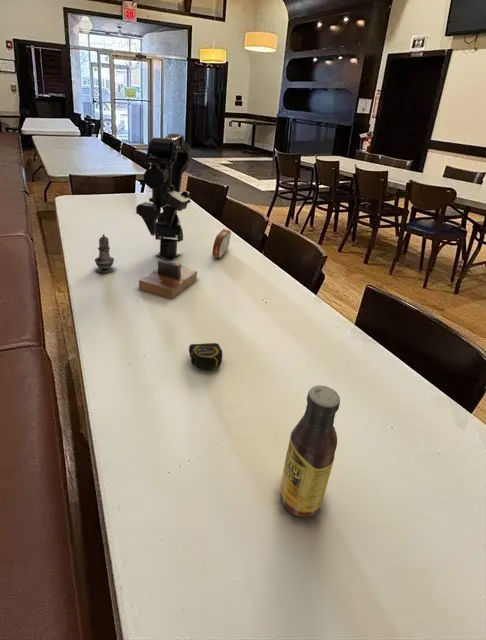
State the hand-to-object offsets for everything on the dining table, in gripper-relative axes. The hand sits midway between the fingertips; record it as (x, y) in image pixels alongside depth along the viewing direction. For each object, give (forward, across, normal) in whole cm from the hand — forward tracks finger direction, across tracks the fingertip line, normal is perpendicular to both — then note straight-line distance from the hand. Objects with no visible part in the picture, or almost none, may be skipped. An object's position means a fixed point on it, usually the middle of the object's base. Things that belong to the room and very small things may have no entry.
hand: (160, 231), depth 128 cm
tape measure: (+13, -37, -34) cm, 52 cm away
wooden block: (+13, -8, -8) cm, 17 cm away
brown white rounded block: (+13, +24, -11) cm, 30 cm away
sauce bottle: (+13, -60, -61) cm, 87 cm away
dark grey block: (+10, -8, -8) cm, 15 cm away
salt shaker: (+13, -10, +14) cm, 22 cm away
